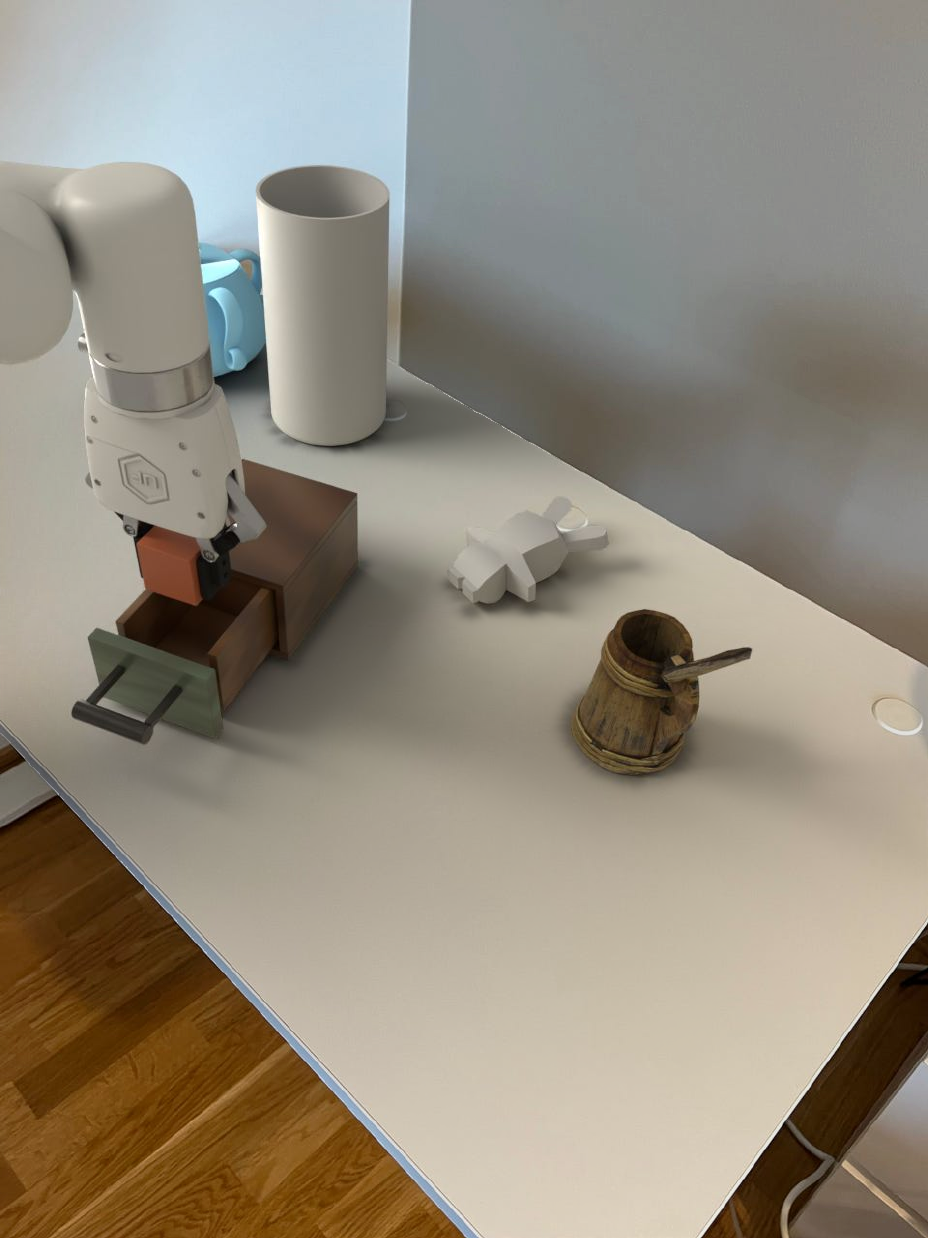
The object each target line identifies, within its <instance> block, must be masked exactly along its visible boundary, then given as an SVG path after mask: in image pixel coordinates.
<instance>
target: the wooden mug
mask: <svg viewBox="0 0 928 1238" xmlns="http://www.w3.org/2000/svg"><path fill="white" fill-rule="evenodd" d="M693 647H694V645H693V638H692V636H691V634H690V632H689V631H688V629H687V627H686V626H685V625H684V624H683V623H682V622H681V621H680V620H679V619H677V618H676V617H675V616H672V615H670V614H669V613H664V612H662V611H657V610H655V609H654V610H653V609H647V608H643V609H638V610H633V611H629V612H626V613H624V614H623V615H621V616H620V617H619V618H618V620H617V621H616V623H615V625H614V627H613V628H611V630H610V631H609V632H608V634H607V635H606V638H605V640H604V641H603V644H602V645H601V649H600V660H599V662H598V665H597V667H596V669H595V671H594V674H593V676H592V679H591V680H590V682H589V685H588V688H587V690H586V691H585V694H584V695H583V696H582V697H581V698H580V700H579V702H578V703H577V704H578V705H577V706H576V708H575V710H574V713H573V715H572V717H571V723H570V731H571V733H572V734H571V735H572V737H573V740H574V741H575V743H576V744H577V746H578V748H579V749H580V751H581V752H582V753H583V754H585V756H587V758H589V759H590V760H591V761H592V762H593V763H595V764H597V765H598V766H599V767H601V768H603V769H606V770H609V771H611V772H614V773H616V774H624V775H631V776H635V775H640V774H648V773H654V772H659V771H662V770H664V769H666V768H667V767H668V766H670V765H671V764H673V763H674V761H675V760H676V759H677V758H678V756H679V755H680V753H681V752H682V749H683V747H684V744H685V740H686V734H687V732H688V731H689V730H690V729H691V728H692V726H693V724H694V723H695V722H696V720H697V716H698V712H699V708H700V683H699V682H700V681H699V677H701V676H703V675H706V674H709V673H712V672H714V671H718V670H721V669H724V668H726V667H730V666H732V665H735V664H738V663H741V662H744V661H748V660H750V659H751V656H752V652H753V648H752V647H750V646H746V647H744V646H743V647H739V648H734V649H728V650H727V649H726V650H724V651H723V652H719V653H716V654H715V655H710V656H708V657H704V658H701V659H697V660H695V654H694V649H693Z"/></svg>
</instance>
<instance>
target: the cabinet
mask: <svg viewBox="0 0 928 1238" xmlns="http://www.w3.org/2000/svg"><path fill="white" fill-rule="evenodd" d="M241 461H242V468H243V475H244V484H245V495H246V497H247V498H248V499H249V501H250V502H251V503H252V505H253V506H254V508H255V509H256V510H257V512H258V513H259V514H260V516H261V517H262V519H263V520H264V521H265V523H266V526H267V527H266V529H265V530H264V531H263V532H262V533H261V535H260V536H259V537H258V538H257V539H255V540H252V541H249V542H246V543H243V544H242V543H241V544H238V545H236V547H235V548H233V549H231V550H230V551H229V555H230V563H231V572H232V575H231V576H234V577H237V578H240V579H243V580H246V581H249V582H252V583H255V584H258V585H261V586H264V587H267V588H270V589H273V590H276V591H275V593H276V606H277V619H278V632H279V640H278V641H277V642H276V644H275V645H274V646H273V648H272V649H271V650H270V652H269V653H268V654H267V655H271V656H274V657H277V658H280V659H283V660H287V661H289V660H290V659H292V656H293V655H294V654H295V652H296V651H297V649H298V648H299V647H300V646H301V644H302V643H303V642H304V640H305V638H306V637H307V636H308V635H309V633H310V632H311V631H312V630H313V628H314V626H315V625H316V624H317V623H318V621H319V619H321V617H322V616H323V614H324V613H325V611H326V610H327V609H328V608H329V606H330V605H331V603H332V602H333V601H334V599H335V598H336V596H337V595H338V594H339V593H340V592H341V590H342V588H343V587H344V586H345V585H346V584H347V582H348V580H349V579H350V578H351V576H352V574H354V572H355V571H356V569H357V568H358V567H359V550H358V549H359V542H358V541H359V539H358V538H359V537H358V536H359V535H358V534H359V531H358V530H359V527H358V524H359V523H358V521H359V520H358V515H359V514H358V513H359V512H358V510H359V509H358V492H355V491H352V490H348V489H345V488H342V487H338V486H335V485H333V484H332V485H331V484H329V483H325V482H321V481H318V480H314V479H312V478H308V477H305V476H301V475H300V474H299V475H298V474H295V473H291V472H289V471H286V470H282V469H279V468H275V467H272V466H269V465H265V464H262V463H260V462H255V461H252V460H249V459H245V458H241ZM227 515H228V517H229V520H230V523H231V524H233V523H234V522H235V521H234V520H233V518H232V517H231V516H230V514H229V513H228V512H227Z"/></svg>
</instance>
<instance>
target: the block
mask: <svg viewBox="0 0 928 1238" xmlns="http://www.w3.org/2000/svg"><path fill="white" fill-rule="evenodd" d="M137 549H138V555H139V560H140V565H141V570H142V575H143V578H142V581H143V584H144V590H145V589H147V590H150V591H153V592H156V593H159V594H162V595H165V596H168V597H171V598H173V599H176V600H179V601H182V602H185V603H188V604H191V605H194V606H197V605H198V604H199V603H200V602H201V600H202V599H203V598H202V596H201V592H200V585H199V578H198V571H197V564H196V561H197V559H198V557H199V556H200V555H201V552H200V549H199V547H198V544H197V542H196V539H195V537H191V536H188V535H184V534H181V533H178V532H175V531H172V530H168V529H165V528H162V527H159V526H156V525H155V526H154V527H153V528H152V529H151V530H150V531H149V532H148V533H147V534H146V535H145V536H144V537H143V538H142V539H141V540H140V541H139V542H138V543H137Z"/></svg>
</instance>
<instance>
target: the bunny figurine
mask: <svg viewBox="0 0 928 1238" xmlns="http://www.w3.org/2000/svg"><path fill="white" fill-rule="evenodd" d="M572 508H573V503H572V501H571V500H570V499H569V498H567V497H565V496H563V495H562V496H555V497H554V498H552V500H551V501H550V503H549V504H548V505H547V506H546V508H545V510H544V512H543V513H542V515H539V514H536V513H535V512H532V511H530V510H528V509H526V510H523V511H521V512H518V513H516V514H515V515H513V516H511V517H510V518H508V519H507V520H506V521H505V522H504V523H502V525H501V526H500V527H499V529H498V531H497V532H496V531H493V530H488V529H485V528H480V527H477V526H473V525H472V526H470V527H469V528H468V529H467V530H466V531H465V538H466V539H465V540H466V542H465V543H466V546H465V547H464V548H463V549H462V550H461V552H460V553H459V554H458V555H457V557H456V558H455V560H454V561H453V563H452V565H450V566H449V567H447V581H449V583H451V584H452V585H453V586H454V587H455V588H456V589H457V590H462V595H463V596H464V597H465V598H466V599H468V601H470V603H471V604H476V603H478V602H479V603H480V602H481V603H484V604H487V605H488V604H495V603H497V602H498V601H500V600H501V599H502V597H503V596H504V594H505V592H506V591H507V592H510V593H512V594H514V595H515V596H516V597H518V598H520V599H521V600H524V601H525V602H527V603H530V602H533V601H535V600H536V594H537V593H536V591H537V590H536V589H537V583H539V582H541V581H543V580H546V579H548V578H549V577H551V576H552V575H554V574H555V573H556V572H558V571H559V569H560V567H561V566H562V564H563V563H564V560H566V558H567V556H568V554H569V553H573V552H589V551H601V550H604V549H607V548H608V546H609V544H610V540H609V537H608V533H607V530H606V528H605V527H604V526H602V525H598V524H594V525H592V524H591V525H586V526H584V527H580V528H575V529H572V530H568V531H564V532H561V531H560V529H559V528H558V526H557V525H558V524H559V523H560V522H561V521H562V520H563V519H564V518H565V517H566V516H567V515H568V514H569V513H570V512H571V511H572Z"/></svg>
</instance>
